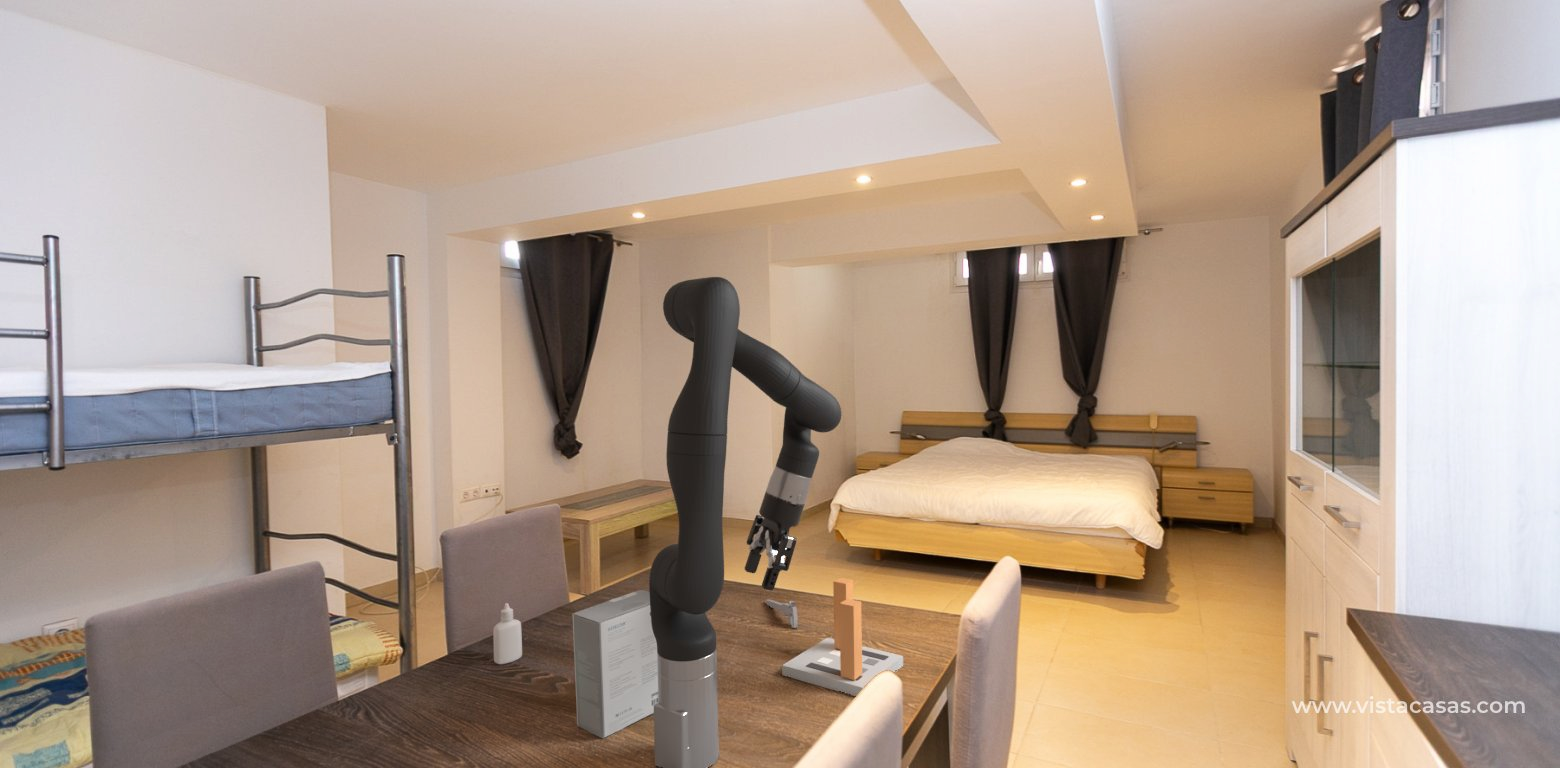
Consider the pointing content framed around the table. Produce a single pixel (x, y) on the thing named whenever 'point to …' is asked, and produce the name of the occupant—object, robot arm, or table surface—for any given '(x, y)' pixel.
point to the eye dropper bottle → (507, 638)
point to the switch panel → (838, 667)
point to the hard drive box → (615, 664)
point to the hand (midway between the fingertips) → (758, 580)
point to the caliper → (786, 610)
